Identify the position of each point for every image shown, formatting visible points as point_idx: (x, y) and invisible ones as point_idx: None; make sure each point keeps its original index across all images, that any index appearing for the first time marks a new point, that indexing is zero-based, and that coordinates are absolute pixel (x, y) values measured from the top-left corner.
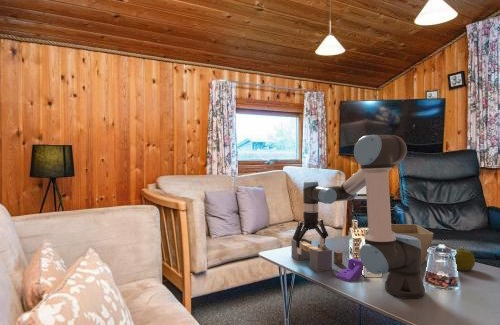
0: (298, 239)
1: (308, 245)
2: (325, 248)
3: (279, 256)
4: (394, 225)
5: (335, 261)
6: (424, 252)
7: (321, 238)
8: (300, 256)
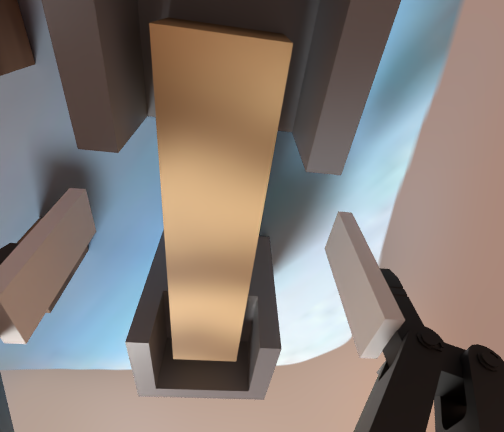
0: (441, 359)
1: (213, 286)
2: (103, 41)
3: (308, 312)
4: None
5: (13, 40)
6: None
7: (12, 313)
8: None
